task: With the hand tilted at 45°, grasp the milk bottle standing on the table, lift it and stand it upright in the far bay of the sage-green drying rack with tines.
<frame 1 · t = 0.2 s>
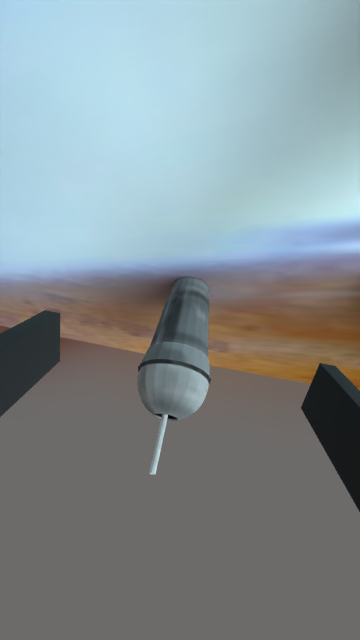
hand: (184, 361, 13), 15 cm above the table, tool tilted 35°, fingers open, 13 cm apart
beverage cup: (190, 288, 31), on the table
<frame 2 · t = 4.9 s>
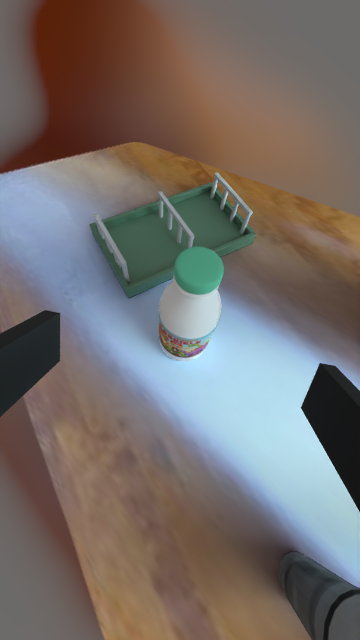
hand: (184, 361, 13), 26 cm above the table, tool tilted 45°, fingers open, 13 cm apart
milk bottle: (182, 339, 41), on the table
drying rack: (173, 238, 49), on the table
beverage cup: (296, 575, 30), on the table
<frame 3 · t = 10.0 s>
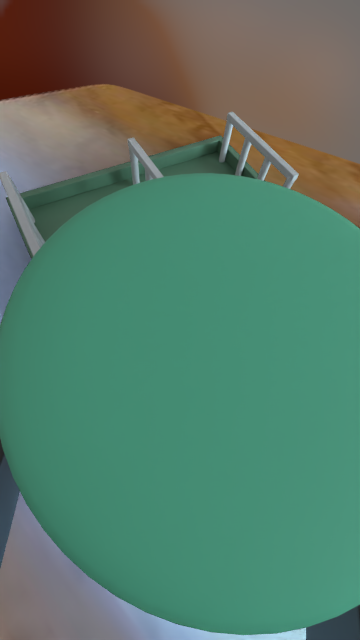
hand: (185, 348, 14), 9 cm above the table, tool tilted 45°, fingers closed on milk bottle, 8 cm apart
milk bottle: (169, 420, 21), on the table, touching gripper
drying rack: (158, 225, 29), on the table
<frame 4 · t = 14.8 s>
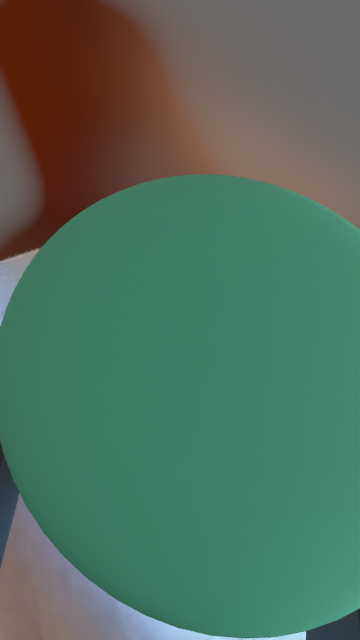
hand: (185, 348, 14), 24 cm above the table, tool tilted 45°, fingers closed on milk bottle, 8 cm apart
milk bottle: (169, 420, 21), point 15 cm above the table, touching gripper
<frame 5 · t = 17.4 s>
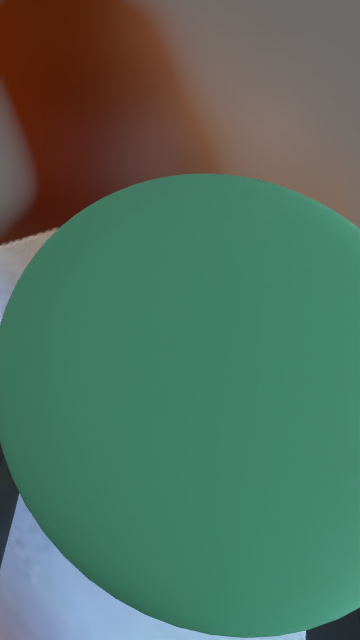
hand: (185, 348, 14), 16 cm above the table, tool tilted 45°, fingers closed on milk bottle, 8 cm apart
milk bottle: (169, 420, 21), point 7 cm above the table, touching gripper
when the fingers open (10 cm above the table, at t = 19.6 s): milk bottle stays where it is, resting on drying rack.
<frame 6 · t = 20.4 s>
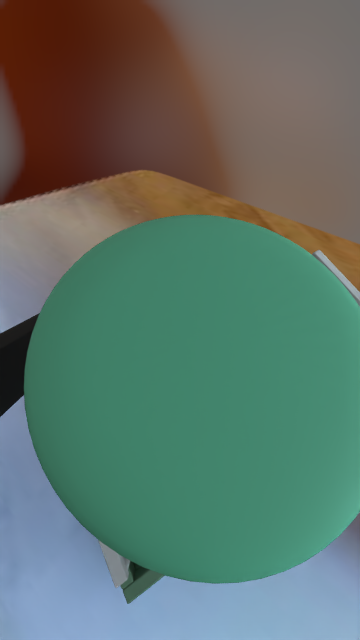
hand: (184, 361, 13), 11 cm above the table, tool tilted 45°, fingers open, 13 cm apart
milk bottle: (168, 421, 21), point 1 cm above the table, touching drying rack
drying rack: (225, 385, 24), on the table
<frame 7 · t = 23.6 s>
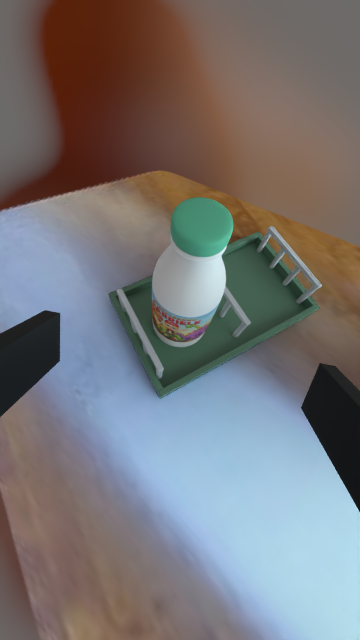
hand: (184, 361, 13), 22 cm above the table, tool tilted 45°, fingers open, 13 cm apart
milk bottle: (179, 323, 37), point 1 cm above the table, touching drying rack
drying rack: (213, 308, 39), on the table
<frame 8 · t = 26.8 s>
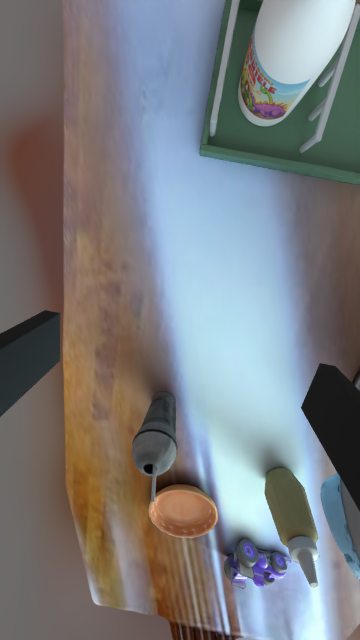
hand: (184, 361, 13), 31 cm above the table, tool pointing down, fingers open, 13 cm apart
milk bottle: (267, 93, 32), point 1 cm above the table, touching drying rack
toy race car: (257, 554, 65), on the table
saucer: (183, 501, 61), on the table
drying rack: (312, 104, 33), on the table
squeeze bottle: (279, 475, 56), on the table
beverage cup: (164, 400, 51), on the table
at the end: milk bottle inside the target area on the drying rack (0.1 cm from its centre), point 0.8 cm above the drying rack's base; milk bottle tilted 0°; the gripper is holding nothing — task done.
